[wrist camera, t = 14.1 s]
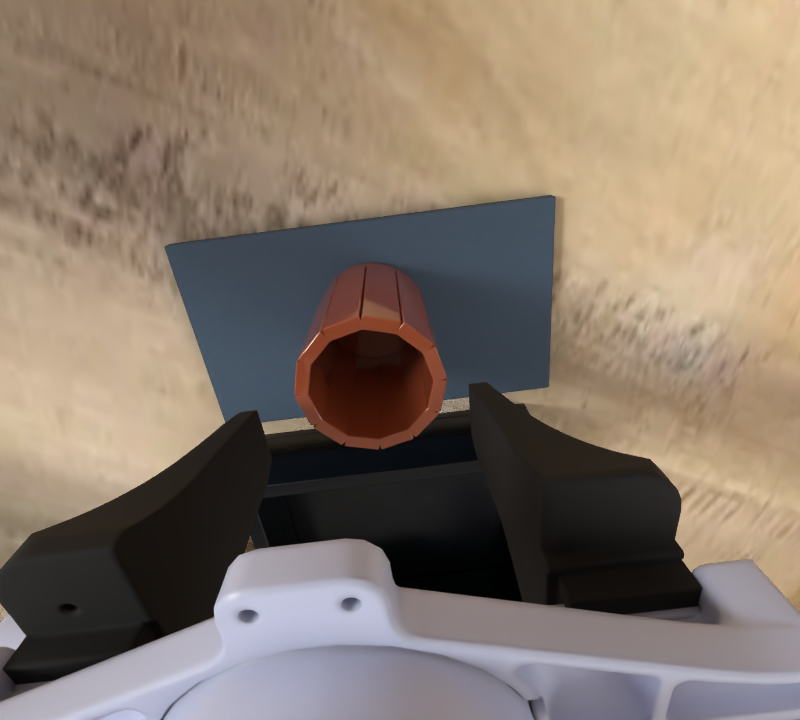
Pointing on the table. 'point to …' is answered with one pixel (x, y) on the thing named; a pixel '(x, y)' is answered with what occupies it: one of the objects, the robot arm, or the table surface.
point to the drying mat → (382, 243)
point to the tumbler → (371, 360)
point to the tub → (394, 506)
